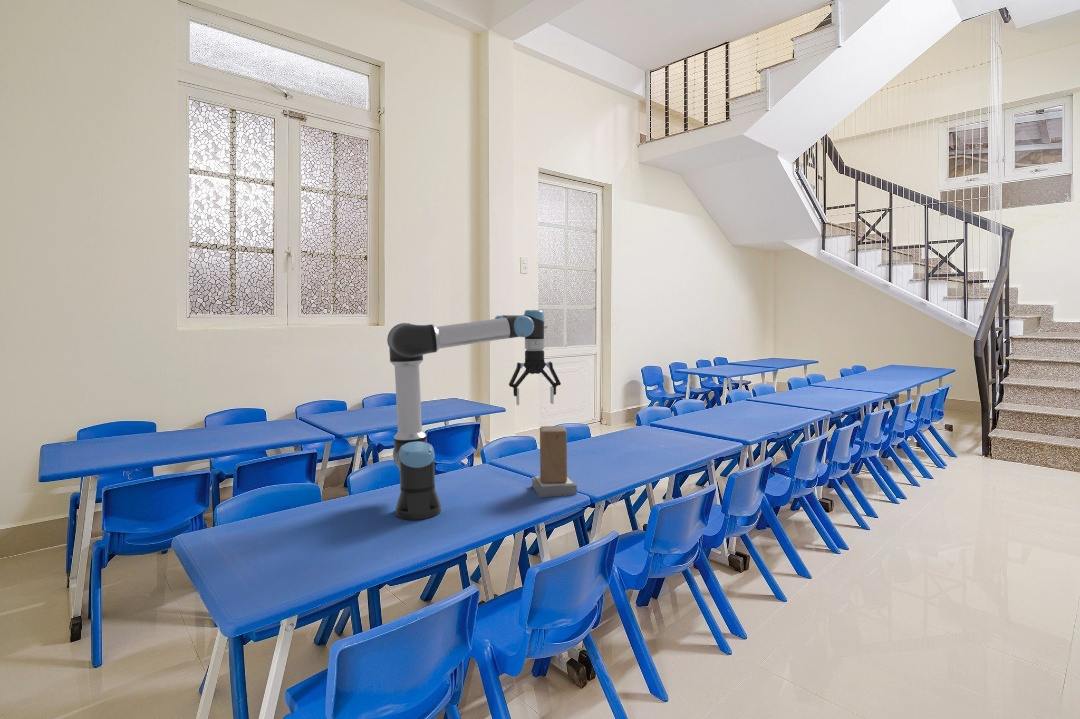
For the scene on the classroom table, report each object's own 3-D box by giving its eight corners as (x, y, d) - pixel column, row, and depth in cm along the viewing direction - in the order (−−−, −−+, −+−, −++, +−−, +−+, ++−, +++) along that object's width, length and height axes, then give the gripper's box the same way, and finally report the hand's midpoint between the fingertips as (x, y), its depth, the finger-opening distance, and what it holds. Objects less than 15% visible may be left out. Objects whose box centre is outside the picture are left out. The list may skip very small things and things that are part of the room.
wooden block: (567, 483, 214) (566, 431, 213) (540, 484, 214) (539, 431, 213) (565, 475, 224) (565, 425, 223) (540, 476, 224) (539, 425, 223)
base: (540, 497, 211) (540, 486, 211) (532, 486, 225) (532, 476, 225) (576, 494, 214) (576, 483, 214) (566, 483, 228) (566, 473, 228)
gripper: (503, 351, 216) (504, 406, 218) (568, 349, 221) (568, 404, 223) (501, 349, 224) (502, 403, 225) (563, 348, 228) (563, 401, 230)
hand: (534, 404), depth 224 cm, fingers open, 13 cm apart
